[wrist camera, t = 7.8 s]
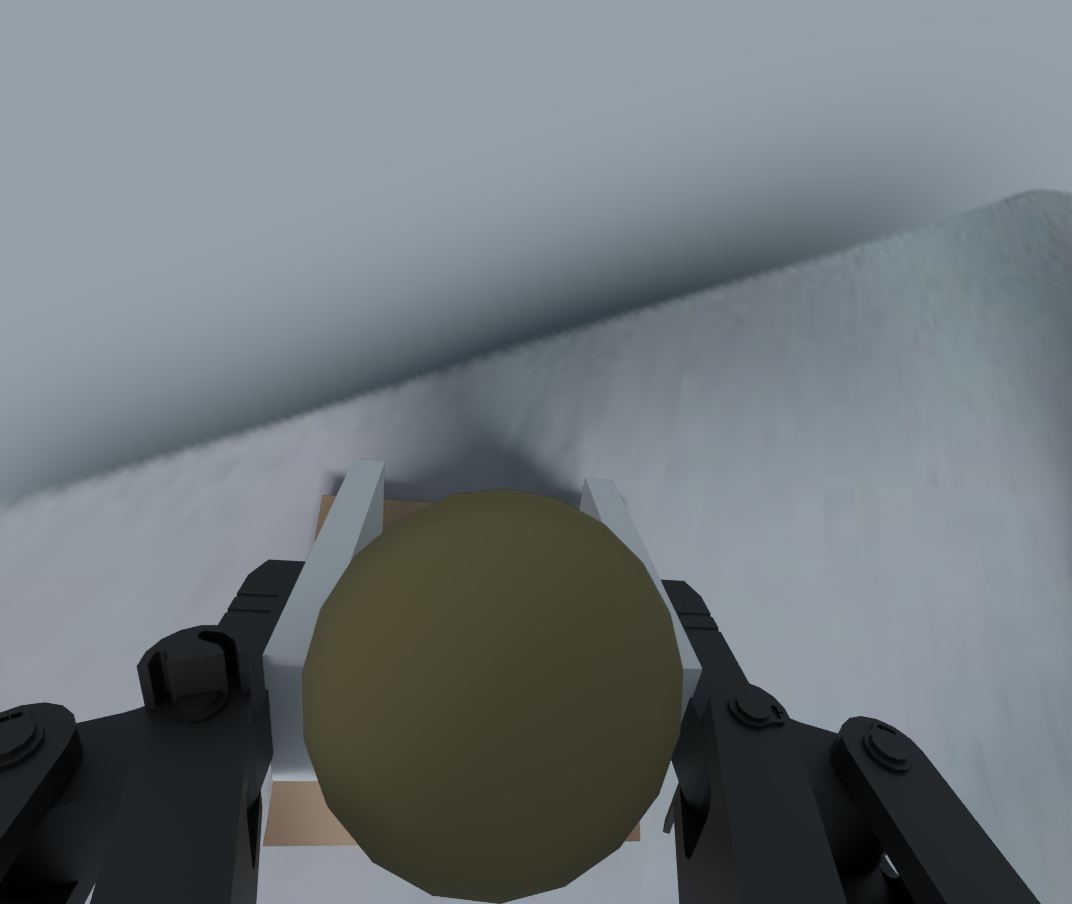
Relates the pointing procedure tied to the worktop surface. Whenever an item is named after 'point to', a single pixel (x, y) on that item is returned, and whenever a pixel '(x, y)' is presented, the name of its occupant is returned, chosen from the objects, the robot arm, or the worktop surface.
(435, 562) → the cork
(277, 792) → the walnut board
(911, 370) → the worktop surface
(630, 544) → the robot arm
